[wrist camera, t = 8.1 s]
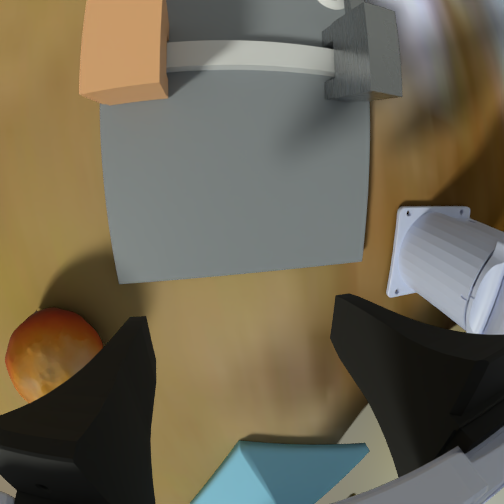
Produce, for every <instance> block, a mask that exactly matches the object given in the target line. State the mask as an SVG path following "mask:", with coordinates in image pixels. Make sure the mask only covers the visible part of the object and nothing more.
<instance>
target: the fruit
mask: <svg viewBox="0 0 504 504" xmlns="http://www.w3.org/2000/svg"><path fill="white" fill-rule="evenodd" d="M102 348H103V345H102V341H101V339H100V337H99V335H98V333H97V332H96V331H95V330H94V328H93V327H92V326H90V325H89V324H88V323H87V322H86V321H85V320H84V319H83V318H82V317H81V316H80V315H78V314H76V313H74V312H72V311H67V310H63V309H60V308H56V307H51V308H45V309H42V310H40V311H37V310H36V312H35V313H34V314H32V315H31V316H29V317H28V318H27V319H26V320H25V321H24V322H23V323H22V324H21V325H20V326H19V327H18V328H17V329H16V330H15V331H14V332H13V334H12V335H11V337H10V341H9V344H8V348H7V352H6V356H5V363H6V367H7V370H8V373H9V376H10V378H11V380H12V382H13V384H14V387H15V388H16V390H17V391H18V392H19V394H20V395H21V396H22V397H23V398H24V400H26V401H27V402H28V403H31V402H33V401H35V400H37V399H39V398H40V397H42V396H44V395H46V394H47V393H49V392H51V391H52V390H53V389H55V388H56V387H58V386H59V385H61V384H62V383H64V382H65V381H67V380H68V379H69V378H71V377H72V376H73V375H74V374H76V373H77V372H78V371H79V370H81V369H82V368H83V367H84V366H85V365H86V364H87V363H88V362H89V361H90V360H91V359H92V358H93V357H94V356H95V355H96V354H97V353H98V352H99V351H100V350H101V349H102Z"/></svg>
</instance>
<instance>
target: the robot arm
mask: <svg viewBox="0 0 504 504" xmlns="http://www.w3.org/2000/svg"><path fill="white" fill-rule="evenodd" d="M407 211H409V213H408V214H407ZM396 290H397V291H396ZM395 291H396V292H395ZM416 292H417V293H418V294H419V295H421V296H422V297H423V298H425V299H426V300H427V301H429V302H430V303H431V304H433V305H434V306H435V307H436V308H438V309H439V310H440V311H441V312H443V313H444V314H445V315H447V316H448V317H449V318H450V319H452V320H453V321H454V322H455V323H457V324H458V325H459V326H460V327H462V328H463V329H464V330H465V331H466V333H465V332H458V331H453V330H448V329H443V328H439V327H435V326H432V325H428V324H425V323H422V322H419V321H416V320H413V319H410V318H408V317H405V316H402V315H400V314H397V313H395V312H393V311H390V310H388V309H386V308H383V307H381V306H379V305H377V304H374V303H372V302H370V301H368V300H365V299H363V298H361V297H358V296H355V295H352V294H343V295H336V297H335V305H334V313H333V321H332V329H331V336H330V339H331V341H332V343H333V345H334V348H335V350H336V352H337V354H338V356H339V358H340V360H341V361H342V363H343V364H344V366H345V367H346V369H347V370H348V372H349V373H350V375H351V376H352V378H353V379H354V381H355V382H356V384H357V385H358V387H359V388H360V390H361V391H362V393H363V394H364V396H365V397H366V399H367V401H368V402H369V404H370V406H371V408H372V410H373V412H374V414H375V416H376V418H377V420H378V423H379V425H380V427H381V430H382V432H383V434H384V437H385V439H386V442H387V444H388V447H389V449H390V452H391V455H392V457H393V461H394V464H395V467H396V470H397V474H398V477H399V478H397V479H395V480H392V481H390V482H388V483H386V484H383V485H381V486H379V487H376V488H374V489H371V490H369V491H366V492H363V493H361V494H358V495H355V496H352V497H350V498H347V499H344V500H341V501H338V502H335V503H332V504H484V503H486V502H487V501H488V500H489V499H490V498H491V497H493V496H494V495H495V494H496V493H497V492H499V491H500V490H501V489H502V488H503V487H504V232H502V231H500V230H497V229H495V228H493V227H490V226H488V225H485V224H483V223H481V222H478V221H476V220H473V219H471V218H470V208H469V207H466V206H402V207H400V208H399V209H398V212H397V221H396V230H395V238H394V246H393V253H392V260H391V267H390V273H389V279H388V285H387V291H386V294H387V295H388V296H389V297H396V296H401V295H406V294H411V293H416ZM155 388H156V358H155V354H154V349H153V345H152V341H151V337H150V332H149V328H148V323H147V318H146V316H142V317H130V318H129V319H128V320H127V321H126V322H125V323H124V325H123V326H122V327H121V328H120V329H119V330H118V332H117V333H116V334H115V335H114V336H113V337H112V338H111V340H110V341H109V342H108V343H107V344H106V345H105V346H104V347H103V348H102V349H101V350H100V351H99V352H98V353H97V354H96V355H95V356H94V357H93V358H92V359H91V360H90V361H89V362H88V363H87V364H86V365H85V366H84V367H83V368H82V369H81V370H79V371H78V372H77V373H76V374H74V375H73V376H72V377H71V378H69V379H68V380H67V381H65V382H64V383H62V384H61V385H59V386H58V387H56V388H55V389H53V390H52V391H51V392H49V393H47V394H46V395H44V396H42V397H40V398H39V399H37V400H35V401H33V402H31V403H29V404H27V405H25V406H23V407H20V408H18V409H15V410H13V411H10V412H8V413H5V414H3V415H0V475H1V476H2V477H3V478H4V479H5V480H6V481H7V482H8V483H10V484H11V485H12V486H13V487H14V488H15V489H16V490H17V493H16V498H14V497H12V496H10V495H9V494H6V493H4V492H2V491H0V504H155V496H154V488H153V478H152V465H151V444H150V437H151V423H152V414H153V405H154V397H155Z"/></svg>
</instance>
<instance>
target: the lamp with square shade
mask: <svg viewBox="0 0 504 504" xmlns="http://www.w3.org/2000/svg"><path fill="white" fill-rule="evenodd" d="M368 452H369V449H368V447H367V446H366V444H365V443H355V444H324V445H308V444H278V443H262V442H250V441H240V440H239V441H238V442H237V444H236V445H235V446H234V448H233V449H232V450H231V452H230V453H229V454H228V456H227V457H226V458H225V460H224V461H223V462H222V464H221V465H220V466H219V468H218V469H217V470H216V471H215V473H214V474H213V475H212V477H211V478H210V479H209V480H208V482H207V483H206V484H205V485H204V487H203V488H202V489H201V490H200V491H199V493H198V494H197V495H196V496H195V498H194V499H193V500H192V501H191V502H190V504H314V503H316V502H317V501H318V500H319V499H320V498H322V497H323V496H324V495H325V494H326V493H327V492H328V491H330V490H331V489H332V488H333V487H334V486H335V485H336V484H337V483H338V482H339V481H340V480H341V479H343V478H344V477H345V476H346V474H348V473H349V472H350V471H351V470H352V469H353V468H354V467H355V466H356V465H357V464H358V463H359V462H360V461H361V460H362V459H363V458H364V457H365V455H366V454H367V453H368Z"/></svg>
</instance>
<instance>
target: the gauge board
mask: <svg viewBox="0 0 504 504" xmlns="http://www.w3.org/2000/svg"><path fill="white" fill-rule="evenodd" d="M166 3H167V10H168V19H169V41H167V65H166V74H167V77H168V99H157V100H147V101H139V102H131V103H124V104H117V105H111V106H109V105H107V104H101V103H100V132H101V152H102V166H103V178H104V189H105V198H106V207H107V215H108V222H109V229H110V236H111V242H112V249H113V255H114V260H115V266H116V271H117V276H118V281H119V284H128V283H141V282H154V281H166V280H178V279H190V278H201V277H212V276H224V275H234V274H245V273H255V272H266V271H276V270H286V269H295V268H305V267H314V266H324V265H333V264H342V263H351V262H360V261H362V256H363V246H364V236H365V225H366V213H367V199H368V181H369V155H370V101H367V102H360V101H358V102H352V103H351V102H343V101H334V100H325V93H324V82H326V81H329V80H332V79H334V78H335V68H334V49H333V48H326V47H323V45H322V31H323V30H325V29H326V28H327V27H329V26H330V25H332V23H333V22H334V21H336V20H337V19H338V18H340V17H341V16H343V15H344V14H345V8H344V0H166Z"/></svg>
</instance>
